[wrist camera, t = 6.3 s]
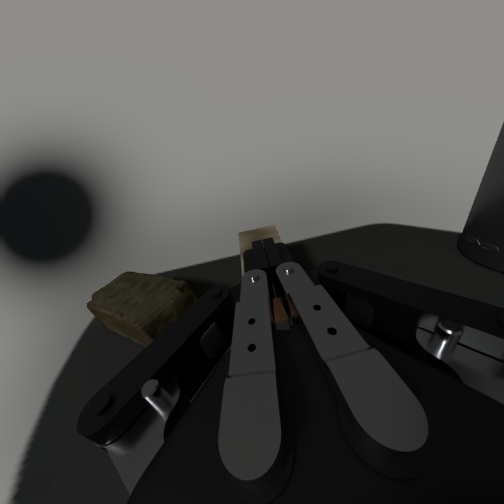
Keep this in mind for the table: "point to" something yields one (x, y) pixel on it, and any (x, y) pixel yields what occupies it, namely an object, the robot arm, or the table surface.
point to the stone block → (141, 305)
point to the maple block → (259, 234)
